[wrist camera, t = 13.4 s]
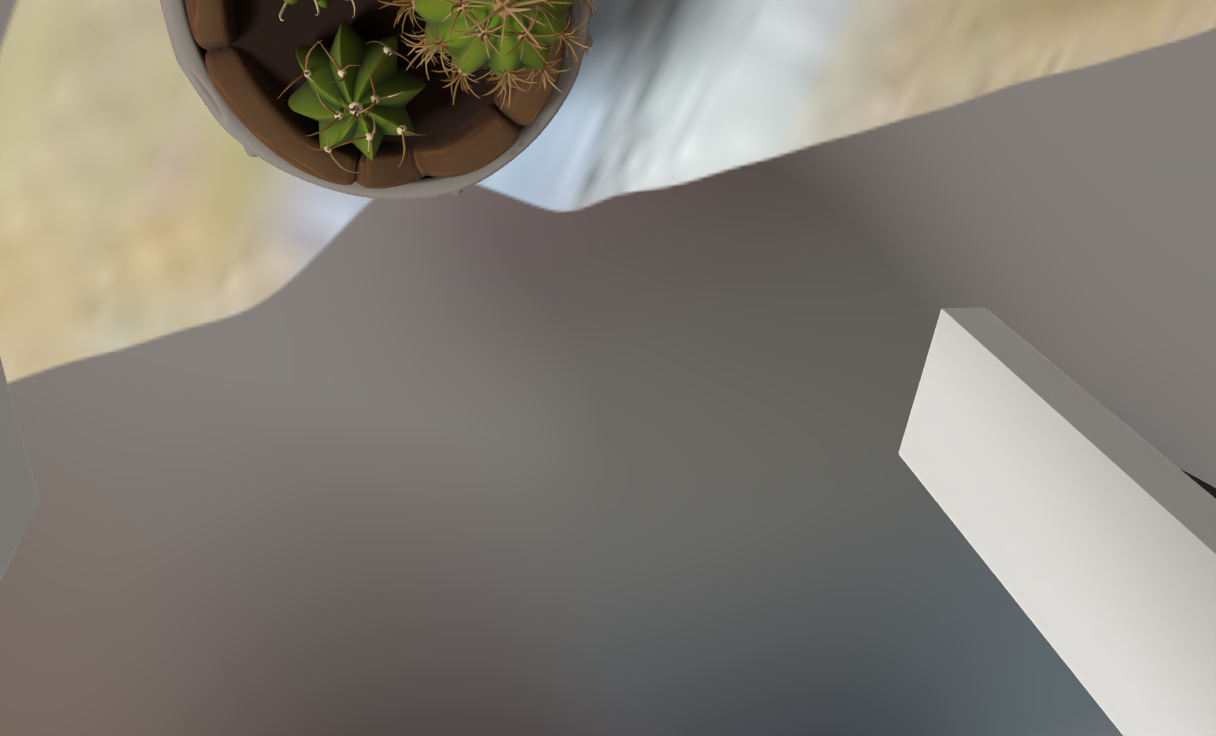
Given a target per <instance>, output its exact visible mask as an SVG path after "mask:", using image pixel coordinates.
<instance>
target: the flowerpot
mask: <svg viewBox="0 0 1216 736" xmlns="http://www.w3.org/2000/svg"><path fill="white" fill-rule="evenodd" d="M160 3H161V7H162V11H163V14H164V18H165V22H166V26H167V29H168V33H169V36H170V40H171V43H172V47H173V50H174V53H175V56H176V59H177V61H178V63H179V65H180V67H181V68H182V70H183V71H184V73H185V75H186V76H187V78H188V79H189V81H190V82H191V84H192V85H193V87H194V88H195V90H196V91H197V93H198V94H199V96H200V97H201V99H202V100H203V102H204V103H205V105H206V106H207V107H208V109H209V110H210V112H211V113H212V115H213V116H214V117H215V119H216V120H217V121H218V122H219V124H220V125H221V126H222V127H223V128H224V129H225V130H226V131H227V132H228V133H229V134H231V135H232V136H233V137H234V138H235V139H236V140H238V141H239V142H240V143H241V144H242V145H244V147H245V151H246V153H247V154H248V155H249V156H252V157H257V156H259V157H260V158H262V159H263V160H265V161H266V162H268V163H270V164H271V165H273V166H275V167H277V168H278V169H280V170H283V171H285V172H287V173H289V174H291V175H293V176H296V177H298V178H300V179H303V180H305V181H308V182H310V183H313V184H316V185H318V186H321V187H325V188H328V189H331V190H334V191H338V192H342V193H346V194H350V195H355V196H362V197H368V198H378V199H403V200H405V199H422V198H431V197H437V196H442V195H446V194H452V195H459V194H461V192H462V191H463V189H465V188H467V187H470V186H472V185H474V184H476V183H478V182H480V181H482V180H484V179H485V178H487V177H489V176H491V175H492V174H494V173H495V172H497V171H498V170H500V169H501V168H502V167H504V166H505V165H506V164H508V163H509V162H510V161H512V160H513V159H514V158H515V157H517V156H518V155H519V154H520V153H521V152H522V151H524V150H525V149H526V148H527V147H528V146H529V145H530V144H531V143H532V142H533V141H534V140H535V139H536V138H537V137H538V136H539V135H540V134H541V132H542V131H543V130H544V129H545V128H546V127H547V125H548V124H549V123H550V121H551V120H552V119H553V117H554V116H555V115H556V113H557V112H558V110H559V109H560V107H561V106H562V104H563V102H564V101H565V99H566V98H567V96H568V94H569V92H570V90H571V88H572V87H573V85H574V83H575V81H576V78H577V75H578V72H579V69H580V65H581V62H582V57H583V53H584V52H585V53H586V54H587V52H586V51H588V50H589V49H592V48H591V46H592V38H591V36H590V35H589V34H588V30H589V24H590V16H591V13H592V10H591V6H592V7H593V8H594V9H595V10H596V12H597V13H598V11H597V9H596V7H595V6H594V5H593V4H592V3H591V0H160ZM598 14H599V13H598ZM592 16H593V14H592ZM599 16H600V15H599ZM593 50H594V49H593ZM587 55H588V54H587Z"/></svg>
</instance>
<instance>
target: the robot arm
mask: <svg viewBox="0 0 1216 736" xmlns="http://www.w3.org/2000/svg"><path fill="white" fill-rule="evenodd" d="M899 455H900V456H901V457H902V459H903V460H904V461H905V462H906V464H907V465H908V466H909V468H910V469H911V470H912V471H913V473H914V474H915V475H916V476H917V477H918V479H919V480H920V481H921V483H922V484H923V485H924V486H925V487H926V489H927V490H928V491H929V493H930V494H931V495H932V496H933V498H934V499H935V500H936V501H937V503H938V504H939V505H940V506H941V508H942V509H943V510H944V511H945V513H946V514H947V515H948V516H949V518H950V519H951V520H952V521H953V523H954V524H955V525H956V526H957V528H958V529H959V530H960V531H961V533H962V534H963V535H964V536H965V537H966V539H967V540H968V541H969V543H970V544H971V545H972V547H973V548H974V549H975V550H976V552H977V553H978V554H979V555H980V556H981V558H982V559H983V560H984V562H985V563H986V564H987V565H988V567H989V568H990V569H991V570H992V572H993V573H994V574H995V575H996V577H997V578H998V579H999V580H1000V581H1001V583H1002V584H1003V585H1004V587H1005V588H1006V589H1007V590H1008V592H1009V593H1010V594H1011V595H1012V597H1013V598H1014V599H1015V600H1016V602H1017V603H1018V604H1019V606H1020V607H1021V608H1022V609H1023V611H1024V612H1025V613H1026V614H1027V616H1028V617H1029V618H1030V619H1031V620H1032V622H1033V623H1034V624H1035V626H1036V627H1037V628H1038V629H1039V631H1040V632H1041V633H1042V634H1043V636H1044V637H1045V638H1046V639H1047V641H1048V642H1049V643H1050V644H1051V646H1052V647H1053V648H1054V649H1055V651H1056V652H1057V653H1058V654H1059V656H1060V657H1061V658H1062V659H1063V661H1064V662H1065V663H1066V664H1067V666H1068V667H1069V668H1070V669H1071V671H1072V672H1073V673H1074V674H1075V676H1076V677H1077V678H1078V679H1079V681H1080V682H1081V683H1082V685H1083V686H1084V687H1085V688H1086V690H1087V691H1088V692H1089V693H1090V695H1091V696H1092V697H1093V698H1094V700H1095V701H1096V702H1097V703H1098V705H1099V706H1100V707H1101V708H1102V710H1103V711H1104V712H1105V713H1106V714H1107V716H1108V717H1109V718H1110V720H1111V721H1112V722H1113V723H1114V725H1115V726H1116V727H1117V728H1118V729H1119V731H1120V732H1121V733H1122V735H1123V736H1216V488H1214V487H1212V486H1211V485H1209V484H1207V483H1205V482H1203V481H1201V480H1200V479H1198V478H1196V477H1194V476H1192V475H1190V474H1189V473H1187V472H1185V471H1183V470H1181V469H1179V468H1178V467H1177V466H1176V465H1175V464H1173V463H1172V462H1171V461H1170V460H1169V459H1167V458H1166V457H1165V456H1164V455H1162V454H1161V453H1160V452H1159V451H1158V450H1156V449H1155V448H1154V447H1153V446H1152V445H1150V444H1149V443H1148V442H1147V441H1146V440H1144V439H1143V438H1142V437H1141V436H1140V435H1138V434H1137V433H1136V432H1135V431H1134V430H1132V429H1131V428H1130V427H1129V426H1128V425H1126V424H1125V423H1124V422H1123V421H1122V420H1120V419H1119V418H1118V417H1117V416H1115V415H1114V414H1113V413H1112V412H1111V411H1109V410H1108V409H1107V408H1106V407H1105V406H1103V405H1102V404H1101V403H1100V402H1099V401H1097V400H1096V399H1095V398H1094V397H1093V396H1091V395H1090V394H1089V393H1088V392H1087V391H1085V390H1084V389H1083V388H1082V387H1080V386H1079V385H1078V384H1077V383H1076V382H1075V381H1073V380H1072V379H1071V378H1070V377H1068V376H1067V375H1066V374H1065V373H1063V372H1062V371H1061V370H1060V369H1059V368H1058V367H1056V366H1055V365H1054V364H1053V363H1052V362H1050V361H1049V360H1048V359H1047V358H1046V357H1044V356H1043V355H1042V354H1041V353H1040V352H1038V351H1037V350H1036V349H1035V348H1033V347H1032V346H1031V345H1030V344H1029V343H1028V342H1026V341H1025V340H1024V339H1023V338H1021V337H1020V336H1019V335H1018V334H1016V333H1015V332H1014V331H1013V330H1012V329H1011V328H1009V327H1008V326H1007V325H1006V324H1005V323H1003V322H1002V321H1001V320H1000V319H998V318H997V317H996V316H995V315H994V314H993V313H991V312H990V311H989V310H988V309H987V308H942V309H941V312H940V316H939V319H938V322H937V326H936V329H935V333H934V336H933V339H932V343H931V346H930V350H929V353H928V356H927V360H926V363H925V367H924V370H923V373H922V376H921V380H920V383H919V386H918V390H917V393H916V397H915V400H914V403H913V407H912V410H911V413H910V417H909V420H908V424H907V427H906V430H905V434H904V437H903V440H902V444H901V448H900V451H899ZM39 502H40V499H39V495H38V491H37V488H36V484H35V481H34V477H33V474H32V470H31V466H30V463H29V460H28V456H27V452H26V449H25V445H24V442H23V438H22V434H21V431H20V427H19V423H18V420H17V416H16V414H15V409H14V406H13V402H12V399H11V395H10V391H9V388H8V384H7V381H6V377H5V373H4V370H3V366H2V363H1V359H0V581H1V579H2V577H3V575H4V573H5V571H6V569H7V567H8V565H9V563H10V560H11V559H12V557H13V555H14V553H15V551H16V548H17V547H18V545H19V543H20V541H21V538H22V537H23V535H24V533H25V531H26V529H27V527H28V525H29V523H30V521H31V518H32V516H33V514H34V512H35V510H36V508H37V506H38V504H39Z"/></svg>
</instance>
